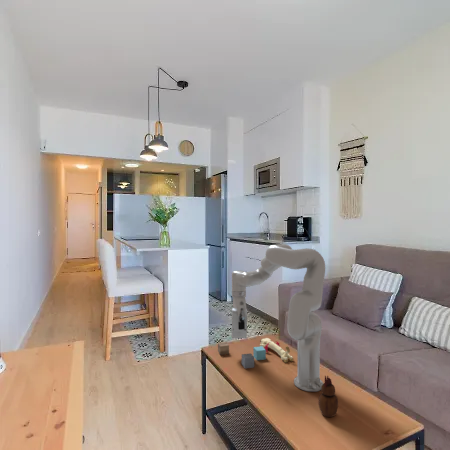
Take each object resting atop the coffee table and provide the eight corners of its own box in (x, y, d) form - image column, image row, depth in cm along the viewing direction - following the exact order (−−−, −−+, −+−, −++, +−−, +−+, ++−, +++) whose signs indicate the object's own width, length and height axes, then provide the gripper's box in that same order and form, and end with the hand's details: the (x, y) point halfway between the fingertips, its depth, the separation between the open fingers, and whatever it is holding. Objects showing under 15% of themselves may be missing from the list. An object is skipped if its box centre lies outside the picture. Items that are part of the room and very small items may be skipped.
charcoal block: (254, 367, 152) (254, 357, 152) (244, 368, 151) (244, 358, 151) (250, 363, 157) (250, 353, 157) (241, 364, 155) (241, 354, 155)
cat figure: (296, 362, 160) (269, 342, 182) (297, 346, 159) (269, 328, 182) (281, 366, 156) (254, 345, 178) (281, 350, 155) (255, 330, 177)
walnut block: (228, 354, 167) (228, 345, 167) (220, 355, 166) (220, 346, 166) (226, 350, 172) (226, 341, 172) (217, 351, 171) (217, 342, 171)
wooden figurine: (324, 420, 111) (325, 379, 110) (315, 411, 116) (316, 371, 116) (340, 417, 112) (341, 376, 112) (331, 408, 118) (331, 369, 118)
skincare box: (231, 338, 162) (231, 310, 162) (231, 334, 168) (231, 307, 168) (247, 338, 161) (247, 310, 161) (247, 334, 167) (246, 307, 167)
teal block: (265, 359, 161) (265, 349, 161) (256, 360, 160) (256, 350, 160) (262, 355, 166) (262, 346, 166) (253, 356, 164) (253, 347, 164)
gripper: (250, 296, 157) (251, 331, 157) (240, 290, 174) (241, 321, 174) (237, 297, 155) (237, 333, 155) (227, 291, 172) (228, 322, 172)
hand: (239, 326), depth 165 cm, fingers closed on skincare box, 7 cm apart
